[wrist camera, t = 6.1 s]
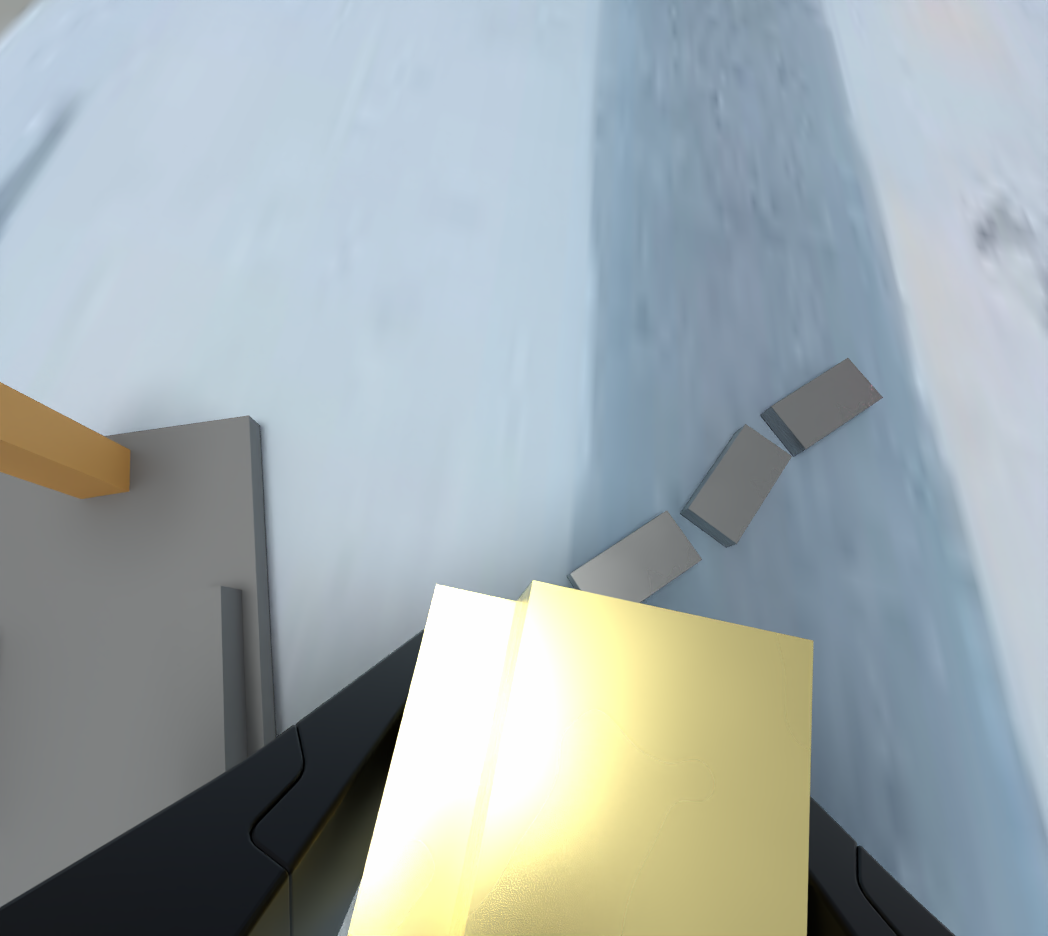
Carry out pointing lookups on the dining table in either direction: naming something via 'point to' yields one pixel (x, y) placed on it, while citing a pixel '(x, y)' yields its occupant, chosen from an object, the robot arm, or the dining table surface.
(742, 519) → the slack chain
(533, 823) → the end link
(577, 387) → the dining table surface
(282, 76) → the dining table surface
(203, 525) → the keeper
